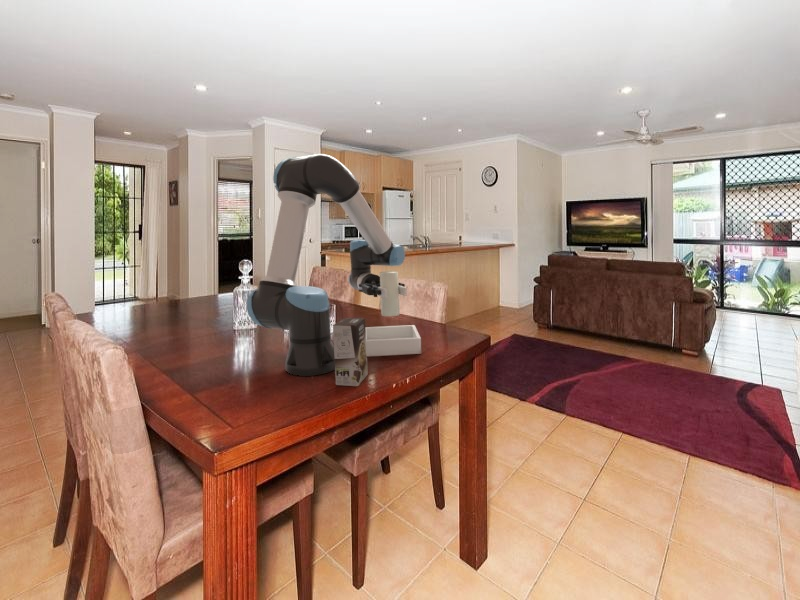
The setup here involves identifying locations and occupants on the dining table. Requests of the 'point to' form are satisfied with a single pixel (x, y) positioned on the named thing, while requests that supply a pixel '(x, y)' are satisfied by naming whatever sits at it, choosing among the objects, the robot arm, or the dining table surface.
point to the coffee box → (350, 351)
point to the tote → (392, 340)
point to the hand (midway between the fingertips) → (396, 292)
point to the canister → (390, 293)
